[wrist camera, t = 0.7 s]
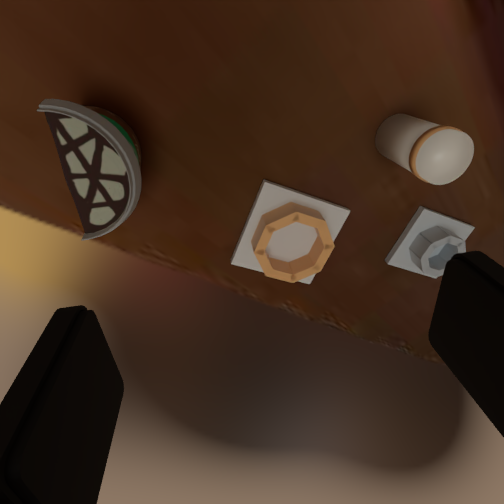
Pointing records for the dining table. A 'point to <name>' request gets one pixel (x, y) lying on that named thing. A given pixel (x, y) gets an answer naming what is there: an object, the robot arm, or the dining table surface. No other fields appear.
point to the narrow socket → (429, 243)
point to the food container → (96, 163)
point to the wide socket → (288, 233)
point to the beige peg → (425, 148)
